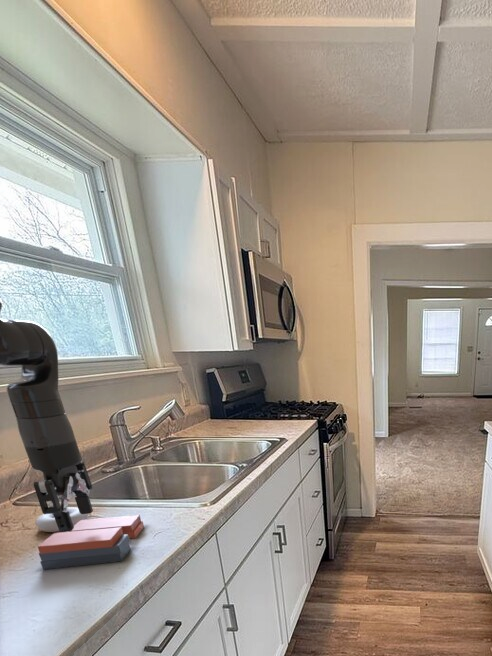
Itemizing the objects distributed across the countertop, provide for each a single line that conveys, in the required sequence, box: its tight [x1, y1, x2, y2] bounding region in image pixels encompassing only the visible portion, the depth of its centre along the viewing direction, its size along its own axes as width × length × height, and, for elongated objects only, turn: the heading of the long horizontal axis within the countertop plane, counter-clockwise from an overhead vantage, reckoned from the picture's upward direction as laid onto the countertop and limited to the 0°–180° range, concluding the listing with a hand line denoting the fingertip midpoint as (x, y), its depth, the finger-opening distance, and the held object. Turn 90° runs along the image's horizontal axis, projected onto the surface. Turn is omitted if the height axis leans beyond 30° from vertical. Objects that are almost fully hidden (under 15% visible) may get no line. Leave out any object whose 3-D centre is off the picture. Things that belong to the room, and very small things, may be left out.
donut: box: [35, 507, 88, 533], centre depth 97 cm, size 10×4×10 cm
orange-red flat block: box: [67, 514, 145, 539], centre depth 92 cm, size 13×6×3 cm, turn 103°
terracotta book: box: [37, 527, 123, 554], centre depth 81 cm, size 12×6×2 cm, turn 103°
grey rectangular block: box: [38, 534, 131, 570], centre depth 82 cm, size 14×5×4 cm, turn 103°
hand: (77, 521), depth 79 cm, fingers open, 8 cm apart
